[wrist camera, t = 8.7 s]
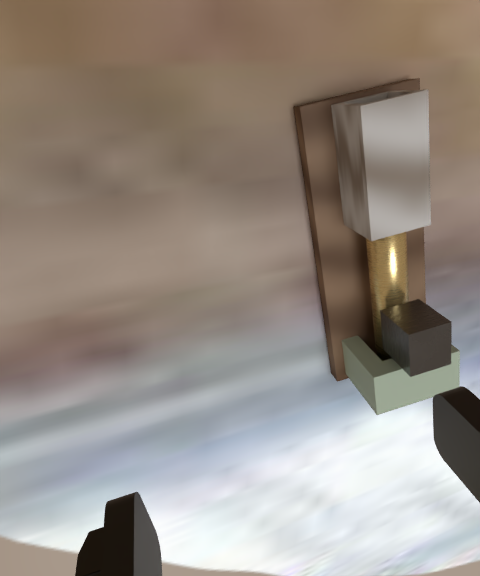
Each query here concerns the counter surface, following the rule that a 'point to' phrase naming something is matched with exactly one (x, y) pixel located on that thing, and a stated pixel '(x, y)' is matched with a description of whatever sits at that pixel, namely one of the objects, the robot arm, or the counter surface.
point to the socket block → (394, 377)
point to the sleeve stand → (364, 197)
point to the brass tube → (403, 312)
